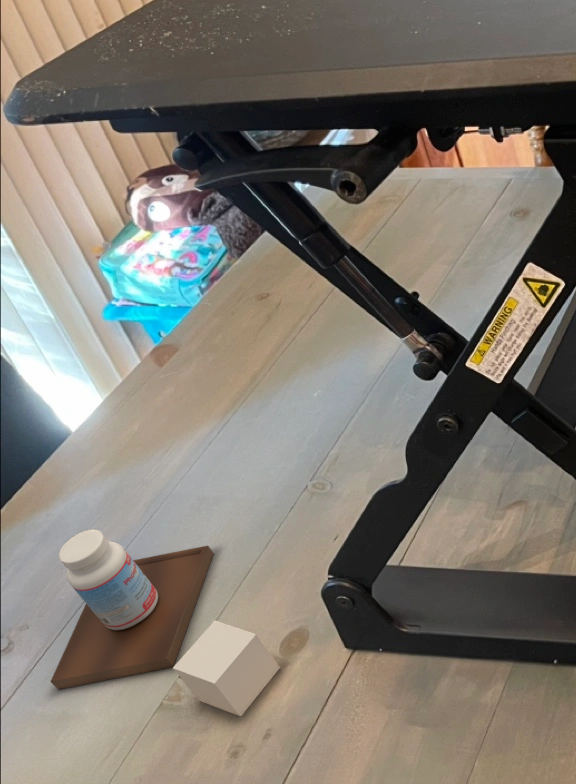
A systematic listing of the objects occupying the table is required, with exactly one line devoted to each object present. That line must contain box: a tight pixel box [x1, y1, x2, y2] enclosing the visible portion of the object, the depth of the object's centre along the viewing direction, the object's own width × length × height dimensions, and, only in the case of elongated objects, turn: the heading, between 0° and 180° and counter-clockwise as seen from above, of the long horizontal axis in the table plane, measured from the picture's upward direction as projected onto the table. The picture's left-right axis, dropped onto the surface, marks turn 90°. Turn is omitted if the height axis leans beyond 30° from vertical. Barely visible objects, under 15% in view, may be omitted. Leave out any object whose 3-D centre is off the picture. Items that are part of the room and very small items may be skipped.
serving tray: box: [50, 545, 214, 690], centre depth 121 cm, size 13×16×2 cm
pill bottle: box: [58, 529, 158, 630], centre depth 118 cm, size 6×6×11 cm
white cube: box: [172, 620, 281, 717], centre depth 110 cm, size 6×6×6 cm
